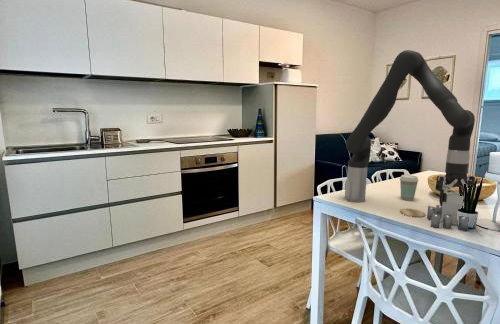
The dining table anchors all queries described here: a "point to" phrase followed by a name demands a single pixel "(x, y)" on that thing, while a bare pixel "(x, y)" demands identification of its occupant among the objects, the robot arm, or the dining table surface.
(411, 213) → the coaster
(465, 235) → the dining table surface
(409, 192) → the coffee cup
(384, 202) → the dining table surface
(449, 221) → the spacer field
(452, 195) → the skincare box
